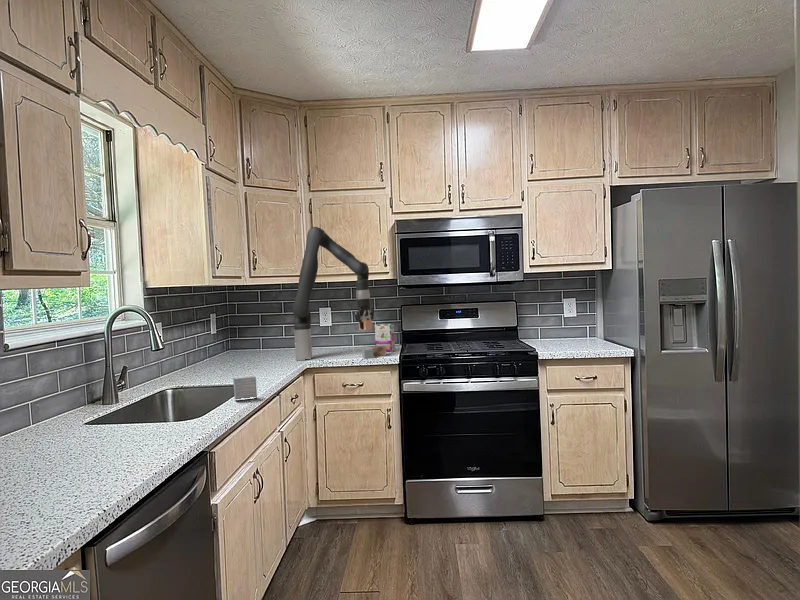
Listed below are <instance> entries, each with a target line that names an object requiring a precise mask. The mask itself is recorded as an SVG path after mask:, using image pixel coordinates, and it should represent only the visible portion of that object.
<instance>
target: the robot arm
mask: <svg viewBox="0 0 800 600" xmlns="http://www.w3.org/2000/svg"><path fill="white" fill-rule="evenodd" d="M305 240H306V242H305V251H304V255H303V257H302V258H303V259H302V264H301V268H300V271H299V276H298V277H299V278H298V284H297V293H296V296H295V300H294V302H293V304H292V310H291V311H292V313H293V318H294V319H293V320H294V321H293V322H294V323H293V329H294V330H293V331H294V332H293V333H294V353H295V361H306V360H305V359H310V360H312V359H313V346H312V329H311V326H312V325H311V324H312V319H311V316H312V315H311V306H310V298H311V293H312V291H313V287H314V286H315V283H316V278H317V276H318V271H319V270H318V268H319V257H318V255H319V248H320V247H322V248H323V249H325V250H326V251H328V252H330V253H331V255H333V256H334V257H335V258H336V259H337V260H339V261H340V263H342V264H344V266H347V267H348V268H349V269H350V270H351V271H352V272H353V273H354V274H355V275H356V281H355V289H356V291H355V292H356V294H355V296H356V307H357V308H358V309H357V310H356V311H355V310H354V312H353V314H354V317H355V321H356V322H357V323H358V325H359V324H360V329H364V325H363V320H371V321H373V320H374V316H375V309H374V308H371V293H370V287H369V275H370V273H369V272H370V270H369V265H368V264H367V263H366V262H362V261H360V260H359V259H357V258H356V256H355V255H354V254H352V253H351V252H350V251H349V250H348V249H346V248H344V247H343V246H342V245H340V244H339V243H337V242H336V241H334V240H333V238H331V237H330V236H329V235H328V234H327V233H326V231H325V230H323V228H320V227H317V226H312V227H310V228H309V229H308V230H307V234H306V239H305ZM311 358H312V359H311Z"/></svg>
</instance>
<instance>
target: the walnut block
mask: <svg viewBox="0 0 800 600" xmlns="http://www.w3.org/2000/svg"><path fill="white" fill-rule="evenodd" d="M371 349H373V355H374V356H379V357H386V352H385V346H377V347H376V346H372V348H371Z"/></svg>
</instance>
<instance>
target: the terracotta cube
mask: <svg viewBox="0 0 800 600" xmlns="http://www.w3.org/2000/svg"><path fill="white" fill-rule="evenodd" d="M363 325H364V329H360V324H359V323H358V329H359V331H361V330H362V331H367V330H372V329H373V324H372V320H367V319H364V320H363Z"/></svg>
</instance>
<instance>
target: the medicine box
mask: <svg viewBox="0 0 800 600" xmlns="http://www.w3.org/2000/svg"><path fill="white" fill-rule="evenodd" d="M232 379H233V393H234V400H235V399H241V398H250V397H257V398H258V394H257V393H258V391H257V389H258V388H257V377H256V375H254V374H252V375H244V376H236V377H233V378H232Z"/></svg>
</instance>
